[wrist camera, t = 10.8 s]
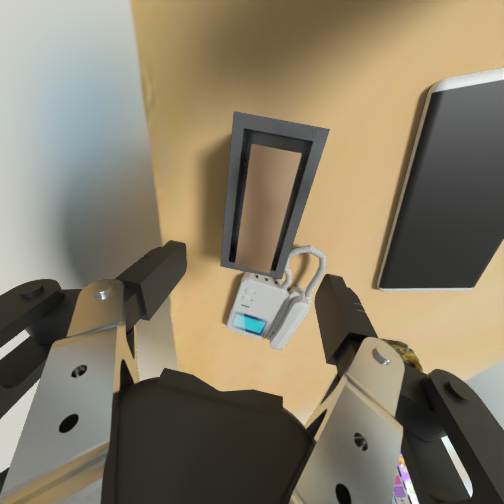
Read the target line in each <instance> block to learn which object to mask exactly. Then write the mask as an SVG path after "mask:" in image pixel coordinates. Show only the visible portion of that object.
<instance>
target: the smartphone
mask: <svg viewBox="0 0 504 504" xmlns="http://www.w3.org/2000/svg"><path fill="white" fill-rule="evenodd" d="M503 239H504V67H503V68H498V69H492V70H487V71H482V72H477V73H471V74H466V75H461V76H455V77H450V78H446V79H443V80H441V81H438V82H437V83H435V84H434V85H433V86H432V87H431V88H430V90H429V91H428V94H427V98H426V101H425V105H424V109H423V113H422V116H421V120H420V124H419V128H418V131H417V135H416V139H415V143H414V146H413V150H412V154H411V158H410V161H409V165H408V169H407V173H406V176H405V180H404V184H403V188H402V191H401V195H400V199H399V203H398V206H397V210H396V214H395V217H394V221H393V225H392V229H391V232H390V236H389V240H388V244H387V247H386V251H385V255H384V259H383V262H382V266H381V270H380V274H379V277H378V281H377V287H378V289H379V290H380V291H383V292H393V291H469V290H471V289H473V288H474V287H475V285H476V283H477V282H478V280H479V278H480V277H481V275H482V273H483V272H484V270H485V269H486V267H487V265H488V264H489V262H490V260H491V259H492V257H493V256H494V254H495V252H496V251H497V249H498V247H499V246H500V244H501V242H502V241H503Z"/></svg>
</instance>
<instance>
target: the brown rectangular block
mask: <svg viewBox="0 0 504 504" xmlns="http://www.w3.org/2000/svg"><path fill="white" fill-rule="evenodd" d="M301 155H302V153H298V152H294V151H289V150H283V149H278V148H273V147H268V146H263V145H257V144H252V145H251V152H250V159H249V166H248V173H247V180H246V188H245V195H244V202H243V209H242V216H241V224H240V231H239V238H238V245H237V252H236V260H235V266H236V267H241V268H246V269H250V270H255V271H259V272H264V273H270V269H271V265H272V262H273V258H274V254H275V251H276V247H277V243H278V240H279V236H280V232H281V229H282V225H283V221H284V217H285V214H286V210H287V206H288V203H289V199H290V195H291V192H292V188H293V184H294V181H295V177H296V173H297V170H298V166H299V162H300V159H301Z"/></svg>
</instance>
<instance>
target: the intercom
mask: <svg viewBox="0 0 504 504" xmlns="http://www.w3.org/2000/svg"><path fill="white" fill-rule="evenodd" d="M306 252H309V253H311V254H313V255H315V256H317V257H319V268H318V270H317V272H316V274H315V276H314V277H313V279H312V280H311V282H310V284H309V285H308V287H307V288H303V287H300V286H293V287H292V288H290V290H289V292H288V291H287V287H288V286H289V285H290V284H291V283H292V272H291V270H290V268H289V261H290V259H291V258H292V257H294V256H296V255H298V254H300V253H306ZM326 267H327V266H326V254H325V253H323V252H321V251H319V250H318V249H316V248H314V247H312V246H311V245H308V246H303V247H298V248H294V249H293V250H291V251H290V254H289V257H288V260H287V264H286V267H285V270H284V272H285V274H286V280H285V281H284V282H283V281H281V280H277V279H274V278H271V277H268V276H264V275H259V274H254V273H250V272H245V273H244V275H243V277H242V280H241V282H240V285H239V288H238V291H237V294H236V297H235V300H234V303H233V306H232V309H231V312H230V315H229V318H228V321H227V324H226V327H227V329H229V330H230V331H234V332H237V333H240V334H244V335H247V336H250V337H253V338H257V339H262V338H263V337H264V336H265V335H266V336H267V339H269V340H270V347H271V348H274V349H277V350H281V349H283V348H284V347H285V345H286V344H287V342H288V341H289V339H290V338H291V336H292V335H293V333H294V332H295V330H296V329H297V328H298V326H299V325H300V323H301V322H302V321H303V319H304V318H305V316H306V315H307V313H308V312H309V309H310V307H309V306H310V304H311V302H312V297H311V294H312V291H313V289H314V288H315V286H316V285H317V284H318V282H319V281H320V279H321V278H322V276H323V274H324V271H325V269H326Z"/></svg>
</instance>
